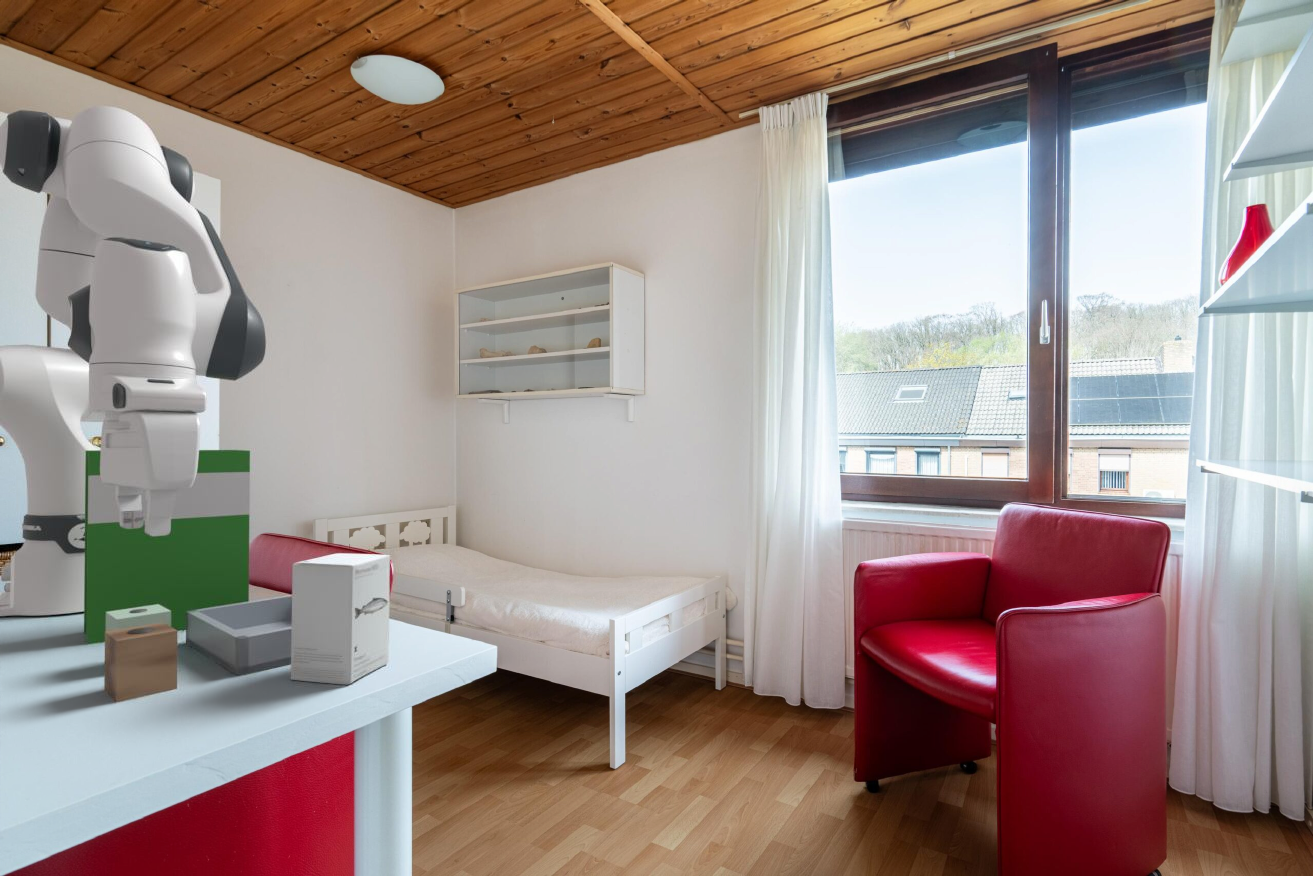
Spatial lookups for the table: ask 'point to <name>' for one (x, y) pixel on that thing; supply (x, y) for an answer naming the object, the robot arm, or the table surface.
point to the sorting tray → (243, 634)
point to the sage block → (137, 617)
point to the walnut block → (140, 661)
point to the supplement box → (339, 617)
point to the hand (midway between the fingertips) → (144, 531)
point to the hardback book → (169, 545)
